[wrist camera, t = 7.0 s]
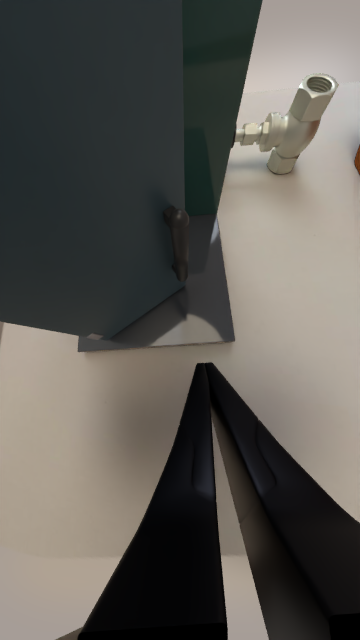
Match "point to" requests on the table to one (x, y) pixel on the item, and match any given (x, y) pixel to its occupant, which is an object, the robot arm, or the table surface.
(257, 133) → the valve
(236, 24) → the shower stall
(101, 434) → the table surface
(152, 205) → the shower door
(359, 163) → the alarm clock
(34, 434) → the table surface
